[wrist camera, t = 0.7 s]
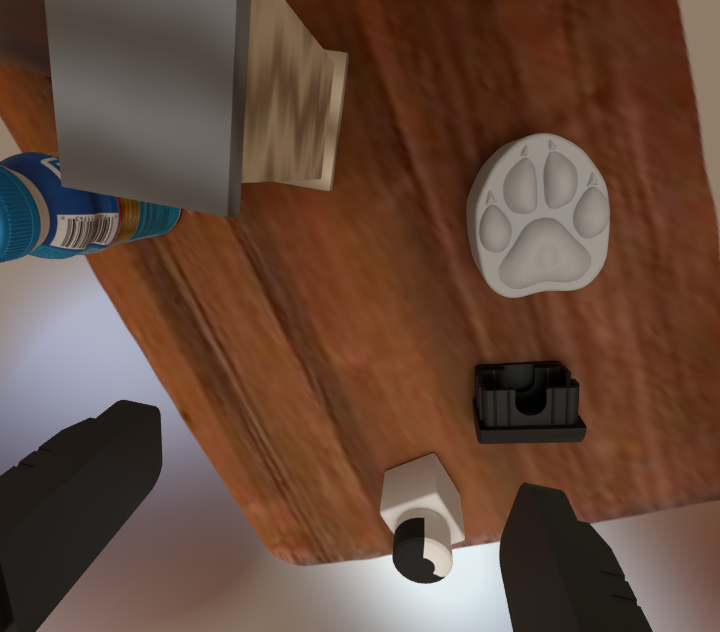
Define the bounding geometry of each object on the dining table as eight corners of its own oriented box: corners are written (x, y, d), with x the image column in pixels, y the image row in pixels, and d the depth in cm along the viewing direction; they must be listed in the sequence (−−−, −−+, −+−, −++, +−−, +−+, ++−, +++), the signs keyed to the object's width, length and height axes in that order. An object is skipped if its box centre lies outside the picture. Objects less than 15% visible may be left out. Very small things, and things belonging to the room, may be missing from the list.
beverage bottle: (136, 247, 47) (-52, 296, 28) (99, 174, 45) (-133, 175, 26) (198, 222, 45) (38, 256, 26) (161, 144, 43) (-41, 121, 24)
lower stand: (331, 196, 42) (236, 218, 20) (238, 179, 43) (52, 184, 21) (350, 50, 37) (254, -118, 16) (245, 35, 38) (19, -145, 17)
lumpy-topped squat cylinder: (473, 283, 43) (485, 308, 35) (459, 152, 39) (468, 146, 31) (579, 267, 41) (618, 290, 33) (576, 128, 37) (619, 115, 29)
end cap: (472, 419, 48) (480, 456, 42) (470, 364, 46) (478, 395, 40) (563, 416, 46) (586, 455, 40) (565, 359, 44) (589, 390, 38)
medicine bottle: (410, 511, 54) (407, 600, 42) (383, 470, 52) (373, 551, 41) (460, 494, 52) (471, 582, 40) (434, 450, 50) (438, 530, 39)
